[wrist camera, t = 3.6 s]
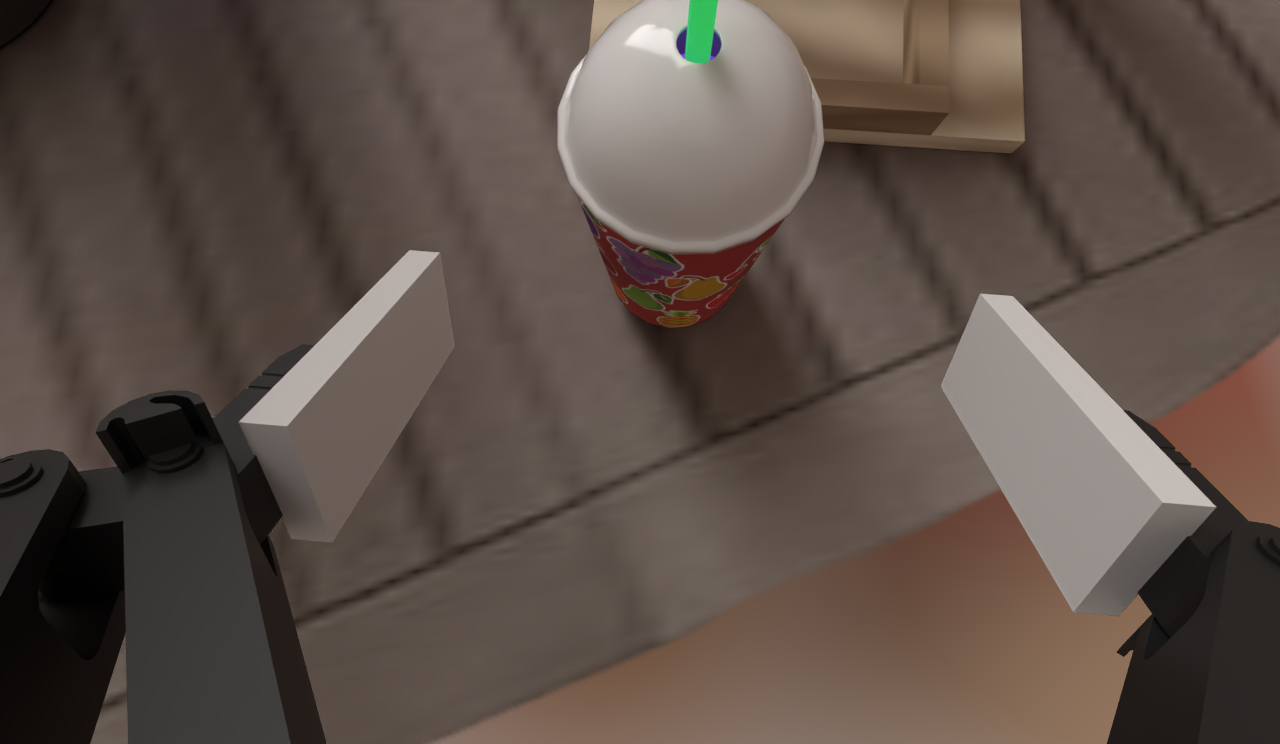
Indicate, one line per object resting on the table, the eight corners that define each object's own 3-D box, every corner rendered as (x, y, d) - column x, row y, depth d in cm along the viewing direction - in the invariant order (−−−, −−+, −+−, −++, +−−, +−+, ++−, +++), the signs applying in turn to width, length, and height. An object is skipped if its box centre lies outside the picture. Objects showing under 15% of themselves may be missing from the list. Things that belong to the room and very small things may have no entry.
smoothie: (766, 223, 32) (949, -173, 12) (728, 366, 31) (864, 176, 11) (621, 185, 33) (577, -252, 13) (577, 324, 31) (453, 71, 12)
